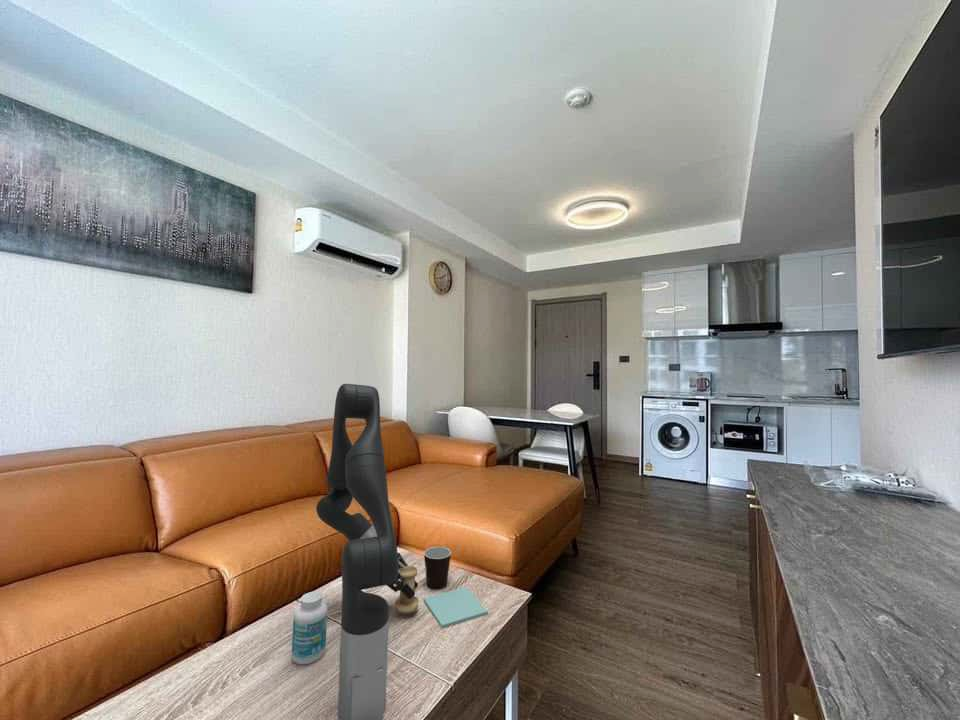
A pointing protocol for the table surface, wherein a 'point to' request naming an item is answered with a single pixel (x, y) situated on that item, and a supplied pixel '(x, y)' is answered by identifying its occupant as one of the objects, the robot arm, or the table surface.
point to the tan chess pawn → (403, 602)
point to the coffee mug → (437, 567)
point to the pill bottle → (309, 629)
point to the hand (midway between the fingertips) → (414, 591)
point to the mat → (454, 607)
